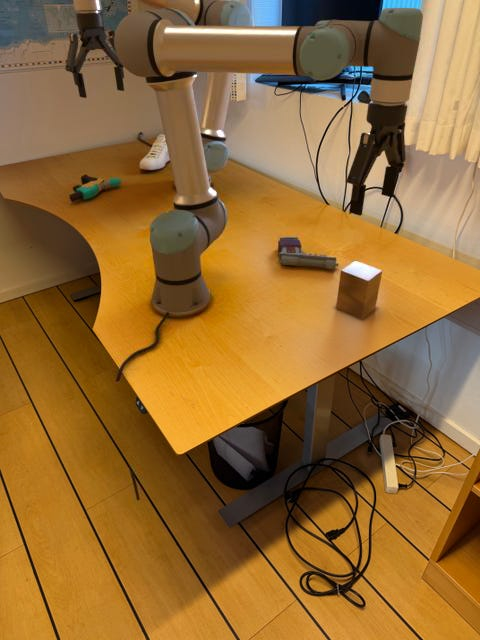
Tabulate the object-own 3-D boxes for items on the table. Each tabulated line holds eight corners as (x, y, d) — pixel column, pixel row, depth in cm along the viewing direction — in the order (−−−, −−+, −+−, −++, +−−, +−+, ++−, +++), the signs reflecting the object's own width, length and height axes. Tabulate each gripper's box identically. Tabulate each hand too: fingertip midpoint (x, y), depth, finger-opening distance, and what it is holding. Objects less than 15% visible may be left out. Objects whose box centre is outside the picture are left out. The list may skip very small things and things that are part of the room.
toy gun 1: (47, 189, 181) (76, 196, 175) (93, 169, 199) (121, 175, 193) (49, 200, 183) (79, 207, 177) (95, 180, 202) (123, 186, 196)
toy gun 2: (339, 250, 148) (337, 274, 136) (279, 245, 151) (272, 268, 139) (340, 238, 146) (338, 262, 134) (280, 234, 149) (273, 256, 137)
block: (375, 308, 122) (382, 270, 116) (361, 319, 118) (368, 281, 112) (349, 297, 127) (355, 260, 120) (335, 307, 123) (340, 270, 116)
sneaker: (133, 173, 208) (129, 144, 201) (161, 153, 230) (158, 127, 223) (155, 175, 205) (151, 146, 198) (180, 155, 227) (178, 129, 220)
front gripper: (401, 89, 103) (385, 185, 115) (336, 110, 88) (325, 216, 101) (434, 94, 99) (413, 192, 111) (372, 116, 84) (356, 226, 97)
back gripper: (117, 9, 144) (128, 86, 156) (41, 14, 129) (59, 98, 142) (132, 9, 139) (142, 89, 152) (55, 15, 125) (73, 102, 137)
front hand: (371, 204), depth 106 cm, fingers open, 13 cm apart
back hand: (102, 93), depth 147 cm, fingers open, 13 cm apart
